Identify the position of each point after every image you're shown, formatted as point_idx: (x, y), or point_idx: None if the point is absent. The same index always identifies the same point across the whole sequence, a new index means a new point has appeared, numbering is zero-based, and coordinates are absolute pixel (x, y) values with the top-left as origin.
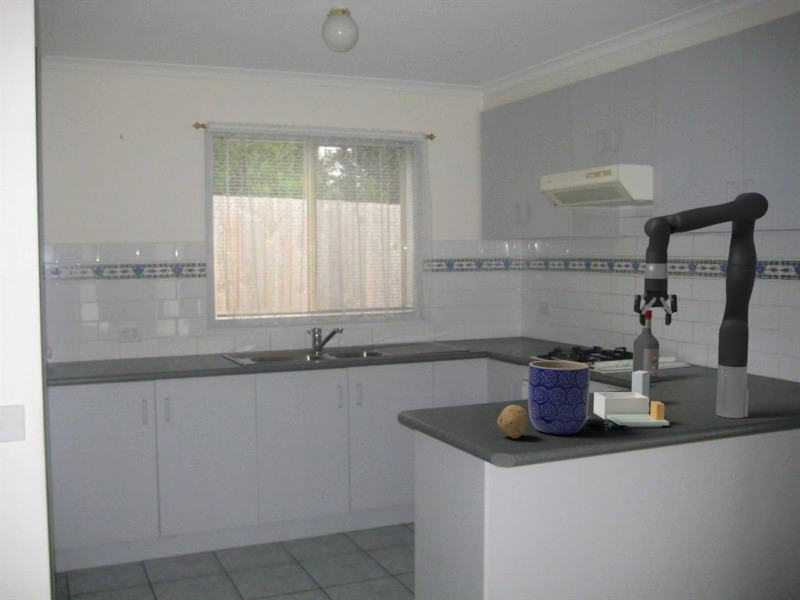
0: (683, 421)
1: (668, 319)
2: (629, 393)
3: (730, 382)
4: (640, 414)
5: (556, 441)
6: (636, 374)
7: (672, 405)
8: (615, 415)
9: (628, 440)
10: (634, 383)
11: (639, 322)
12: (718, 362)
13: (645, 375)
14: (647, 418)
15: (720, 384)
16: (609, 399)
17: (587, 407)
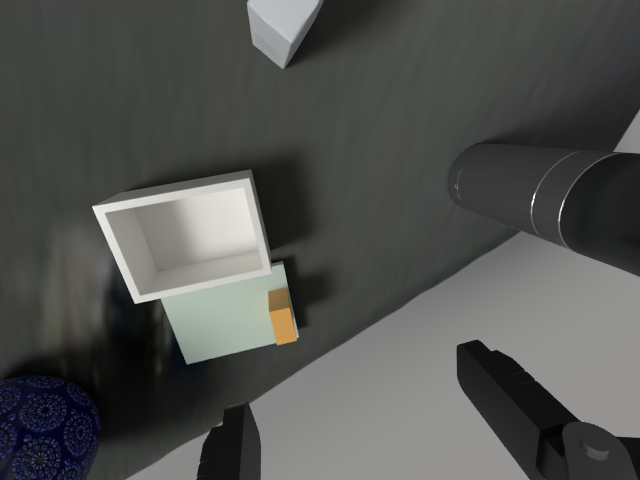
0: (346, 260)
1: (497, 428)
2: (222, 190)
3: (528, 233)
4: None
5: None
6: (266, 24)
7: (384, 36)
8: (180, 298)
9: (200, 435)
10: (259, 30)
11: (205, 442)
12: (570, 207)
13: (308, 20)
14: (257, 313)
15: (505, 209)
16: (150, 299)
17: (88, 472)
